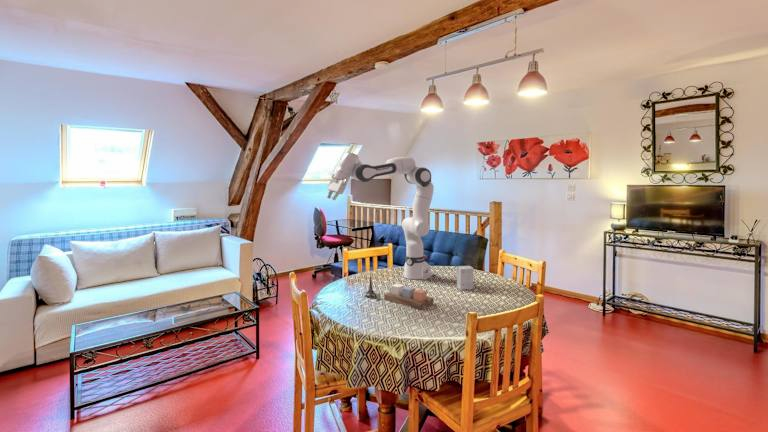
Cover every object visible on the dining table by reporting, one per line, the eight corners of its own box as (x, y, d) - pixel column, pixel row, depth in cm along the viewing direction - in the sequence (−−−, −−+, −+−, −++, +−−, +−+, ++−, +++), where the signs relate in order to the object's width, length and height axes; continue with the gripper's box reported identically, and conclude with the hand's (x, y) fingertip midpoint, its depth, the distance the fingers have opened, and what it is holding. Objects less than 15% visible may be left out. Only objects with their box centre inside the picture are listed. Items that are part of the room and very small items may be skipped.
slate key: (407, 294, 219) (407, 286, 218) (415, 296, 216) (415, 287, 215) (402, 297, 215) (402, 288, 214) (409, 299, 212) (409, 290, 211)
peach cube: (418, 297, 214) (419, 288, 213) (426, 300, 211) (426, 290, 210) (413, 300, 210) (413, 291, 209) (421, 302, 207) (421, 293, 206)
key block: (397, 294, 228) (397, 289, 227) (433, 303, 212) (433, 298, 212) (384, 299, 219) (384, 294, 218) (420, 309, 203) (420, 304, 203)
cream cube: (396, 292, 223) (396, 283, 223) (404, 294, 220) (404, 285, 220) (391, 294, 220) (391, 285, 219) (398, 296, 216) (398, 287, 216)
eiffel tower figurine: (380, 302, 216) (380, 278, 214) (361, 302, 216) (361, 278, 214) (381, 293, 231) (381, 270, 229) (363, 293, 231) (363, 270, 229)
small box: (469, 286, 243) (469, 265, 241) (473, 289, 237) (473, 268, 235) (456, 286, 242) (457, 265, 240) (460, 290, 236) (460, 268, 234)
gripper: (351, 181, 227) (341, 203, 226) (340, 179, 245) (330, 199, 245) (342, 176, 224) (331, 198, 223) (331, 174, 243) (321, 195, 242)
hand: (330, 199), depth 234 cm, fingers open, 8 cm apart
